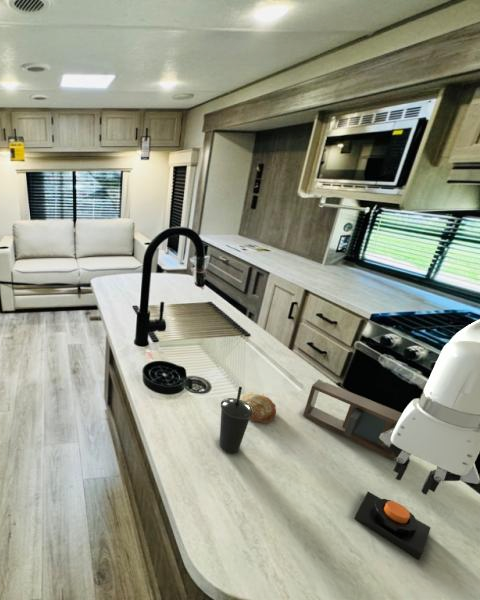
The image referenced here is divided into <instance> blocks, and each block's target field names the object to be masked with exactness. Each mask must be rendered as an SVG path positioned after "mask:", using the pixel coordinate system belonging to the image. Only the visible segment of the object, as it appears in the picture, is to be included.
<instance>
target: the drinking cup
mask: <svg viewBox="0 0 480 600" xmlns="http://www.w3.org/2000/svg"><path fill="white" fill-rule="evenodd" d="M242 390H243V387H242V386H238V390H237V396H236V398H235V397H226V398H224V399H222V400H221V402H220V408H221V409H220V427H219V448H220V449H221V450H222V451H224V452H225V453H227V454H232V455H233V454H236V453H238V452H239V450H240V447H241V445H242V442H243V439H244V436H245V433H246V430H247V429H248V428H247V427H248V425H249V423H250V420H251V419H250V417H251V416H252V414H253V410H252V408H251V407H250V406H249V405H248V404H247V403H246V402H244V401H242V400H241V395H242Z"/></svg>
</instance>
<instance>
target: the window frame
mask: <svg viewBox="0 0 480 600" xmlns="http://www.w3.org/2000/svg"><path fill="white" fill-rule="evenodd" d="M319 393H322V394H324V395H326V396H329V397H331V398H334V399H335V400H337V401H338V400H339V401H340V402H343V403H345V404H347V405H349V406H350V405H352V406H354V407H357V408H359V409H361V410H364V411H366V412H368V413H371V414H373V415H375V416H378V417H380V418H382V419H385V420H387V421H389V422H392V423H393V424H392V426H391V428H390V429H393V428H395V426H396V424H397V422H398V421H399V419H400V417H401V415H402V413H403V412H400V411H398V410H397V409H393V408H391V407H389V406H386V405H383V404H381V403H378V402H376V401H373V400H371V399H368V398H366V397H364V396H361V395H358V394H356V393H353V392H351V391H349V390H347V389H343V388H342V387H339V386H336V385H333V384H331V383H329V382H327V381H324V380H321V379H320V378H319V379H317V380H316V381H315V382H314V383H313V384H312V385H311V388H310V391H309V395H308V397H307V401H306V403H305V407H304V410H303V411H304V412H303V414H302V416H303V417H304V418H305V419H306V418H307V419H308V420H310V421H312V422H315V423H316V424H317V425H320V426H323V427H325V428H327V429H329V430H331V431H332V432H334V433H336V434H339V435H340V436H343V437H345V438H347V439H349V440H351V441H353V442H354V443H356V444H358V445H361V446H363V447H365V448H367V449H369V450H371V451H373V452H375V453H377V454H379V455H380V456H383V457H385V458H387V459H389V460H391V461H393V462H395V460H396V459H397V458H396V456H395V455H394V453H393V452H392V451H391V449H390V447H389V446H387V445H386V444H385V443H384V444H383V446H380V445H378V444H377V443H374V442H372V441H370V440H368V439H366V438H364V437H362V436H360V435H358V434H356V433H354V432H353V433H352V435H351V436H350V437H348V436H346V435H344V432H345V428H343V427H342V426H343V423H344V420H343V419H340V418H339V417H337V416H335V415H332V414H330V413H328V412H325V411H323V410H321V409H319V408H317V407H315V405H316V402H317V399H318V396H319Z"/></svg>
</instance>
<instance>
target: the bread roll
mask: <svg viewBox="0 0 480 600" xmlns="http://www.w3.org/2000/svg"><path fill="white" fill-rule="evenodd" d="M240 400H242V401H244V402H246V403H247V404H248V405H249V406H250V407H251V408H252V410H253V414H252V416H251V417H250V419H249V420H251V421H252V422H256V423H263V424H264V423H268V422H272V421H273V419H275V417H276V415H277V408H276V404H275V403H274V402H273V400H271V399H270V398H269V397H268V396H265V395H264V394H258V393H255V392H247V393H245V394H244V395H243V396H242V397H241V398H240Z"/></svg>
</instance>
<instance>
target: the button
mask: <svg viewBox="0 0 480 600" xmlns="http://www.w3.org/2000/svg"><path fill="white" fill-rule="evenodd" d="M393 501H394V500H391V501H388V502H387V503H386V505H385V507H384V512H385V514H386V515H387V516H388V517H389V518H391V519H393V520H394V521H396V522H398V523H401V524H405V523H407V522H408V520H409V518H410V513H411V512H410V511H409V510H408V509H407V508H406V507H405V506H404V505H402V504H400V503H398V502H397V501H394V502H393ZM409 512H410V513H409Z"/></svg>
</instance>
